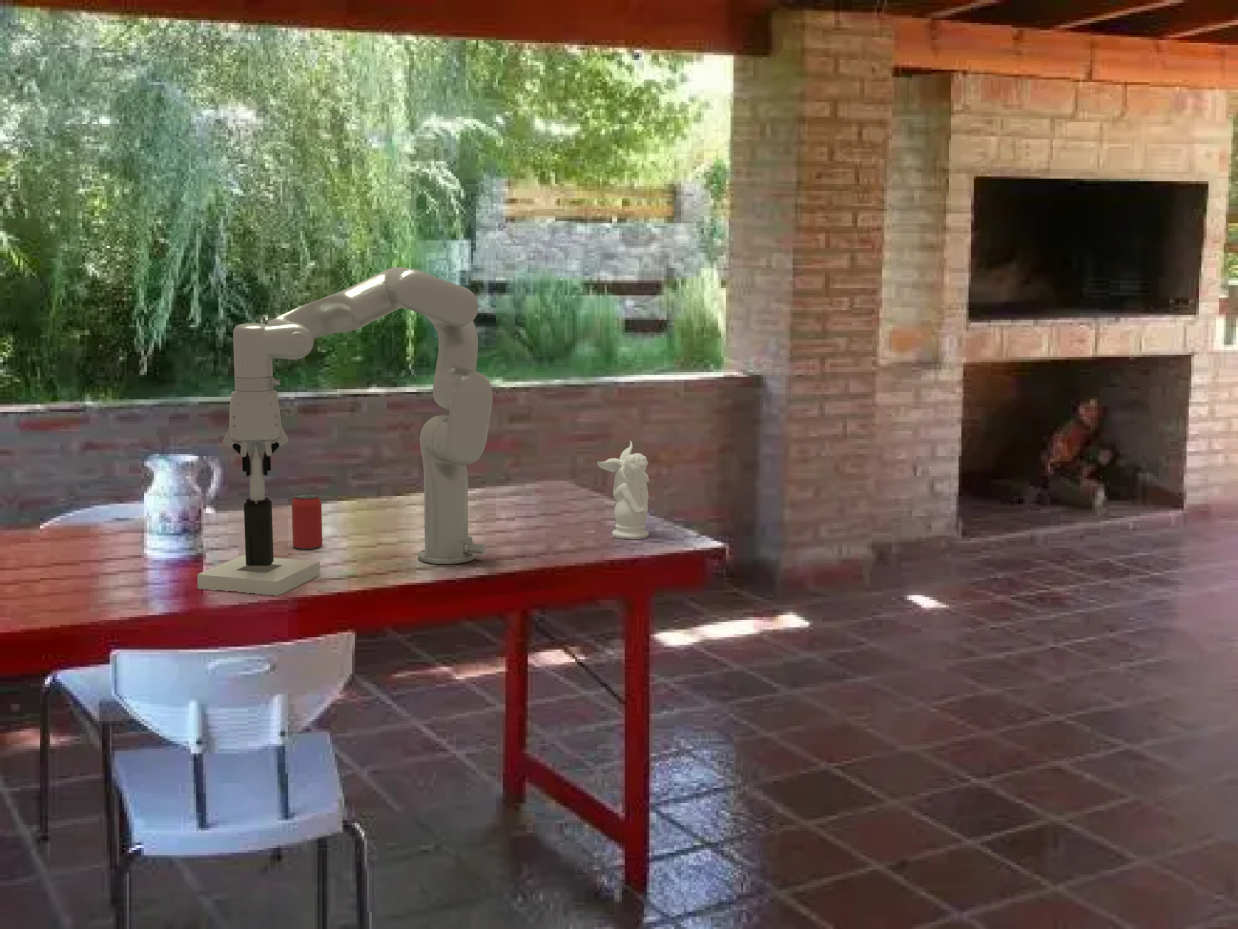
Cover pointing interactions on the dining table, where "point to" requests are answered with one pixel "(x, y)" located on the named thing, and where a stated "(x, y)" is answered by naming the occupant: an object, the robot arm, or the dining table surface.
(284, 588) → the candle base
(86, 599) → the dining table surface
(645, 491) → the cherub figurine
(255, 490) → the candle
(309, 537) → the beer can
